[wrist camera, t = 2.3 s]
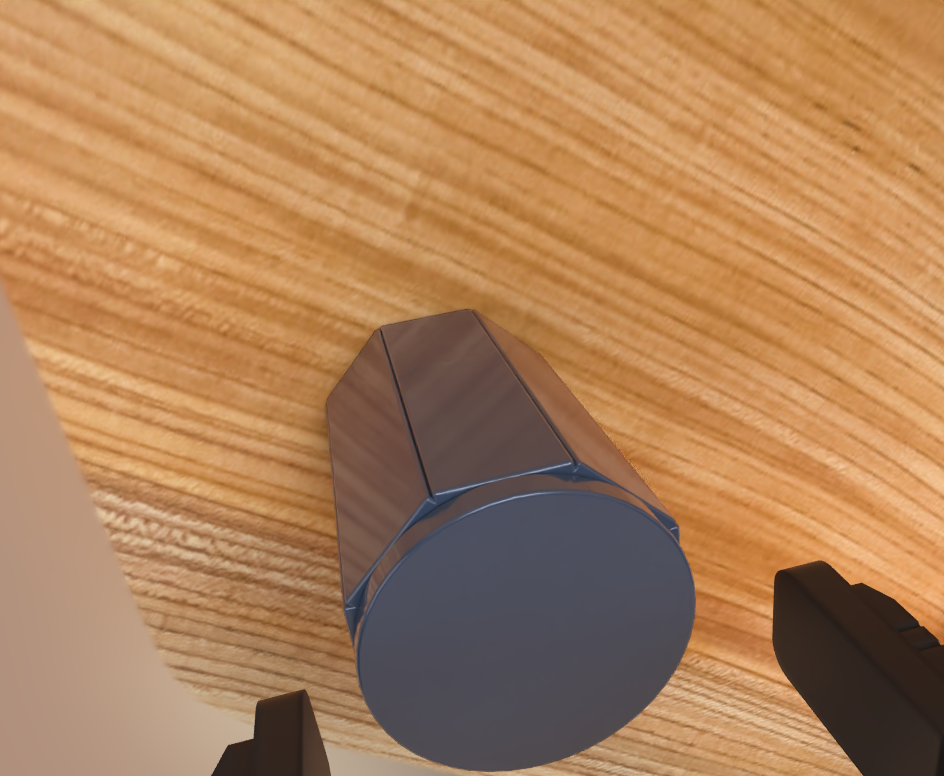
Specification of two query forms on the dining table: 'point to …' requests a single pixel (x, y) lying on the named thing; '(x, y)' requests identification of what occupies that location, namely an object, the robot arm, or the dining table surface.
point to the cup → (495, 551)
